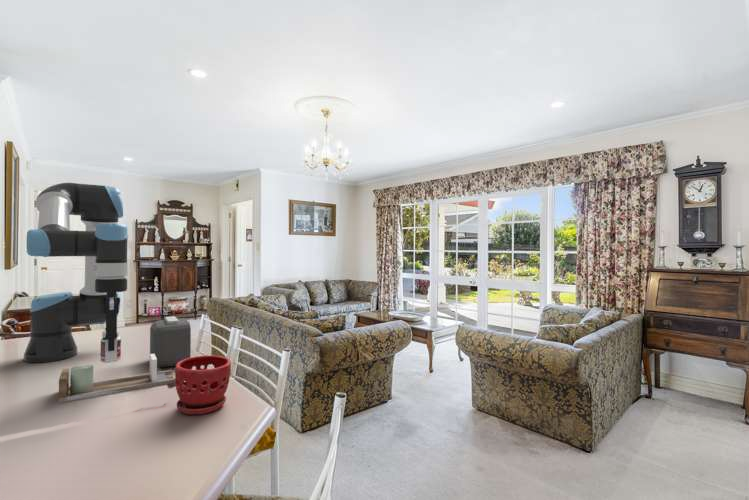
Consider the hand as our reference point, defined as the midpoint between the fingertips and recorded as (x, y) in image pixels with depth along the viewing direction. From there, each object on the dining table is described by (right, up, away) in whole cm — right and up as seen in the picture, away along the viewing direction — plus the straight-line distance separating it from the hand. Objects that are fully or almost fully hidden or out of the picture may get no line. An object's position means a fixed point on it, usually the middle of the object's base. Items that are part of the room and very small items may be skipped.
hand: (110, 359), depth 108 cm
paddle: (+10, -8, +7) cm, 14 cm away
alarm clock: (+1, -9, +28) cm, 30 cm away
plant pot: (+31, -10, -10) cm, 34 cm away
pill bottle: (0, -1, 0) cm, 1 cm away
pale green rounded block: (-5, -8, -4) cm, 10 cm away
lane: (+2, -9, +2) cm, 9 cm away
